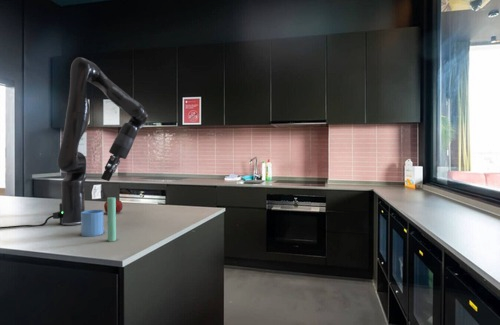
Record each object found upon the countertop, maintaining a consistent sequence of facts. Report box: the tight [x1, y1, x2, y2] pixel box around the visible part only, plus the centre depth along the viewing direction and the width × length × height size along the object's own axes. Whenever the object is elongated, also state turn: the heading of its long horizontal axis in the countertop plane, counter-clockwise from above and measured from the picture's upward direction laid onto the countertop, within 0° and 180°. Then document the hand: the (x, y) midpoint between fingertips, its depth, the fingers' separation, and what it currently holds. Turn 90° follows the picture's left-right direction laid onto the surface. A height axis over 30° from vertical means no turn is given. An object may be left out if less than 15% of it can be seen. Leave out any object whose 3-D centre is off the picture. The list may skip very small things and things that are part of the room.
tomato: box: [103, 198, 124, 214], centre depth 167 cm, size 9×9×8 cm
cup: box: [80, 209, 105, 237], centre depth 125 cm, size 8×8×9 cm
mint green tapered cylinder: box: [106, 196, 117, 242], centre depth 115 cm, size 3×3×16 cm
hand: (105, 180), depth 132 cm, fingers open, 8 cm apart
